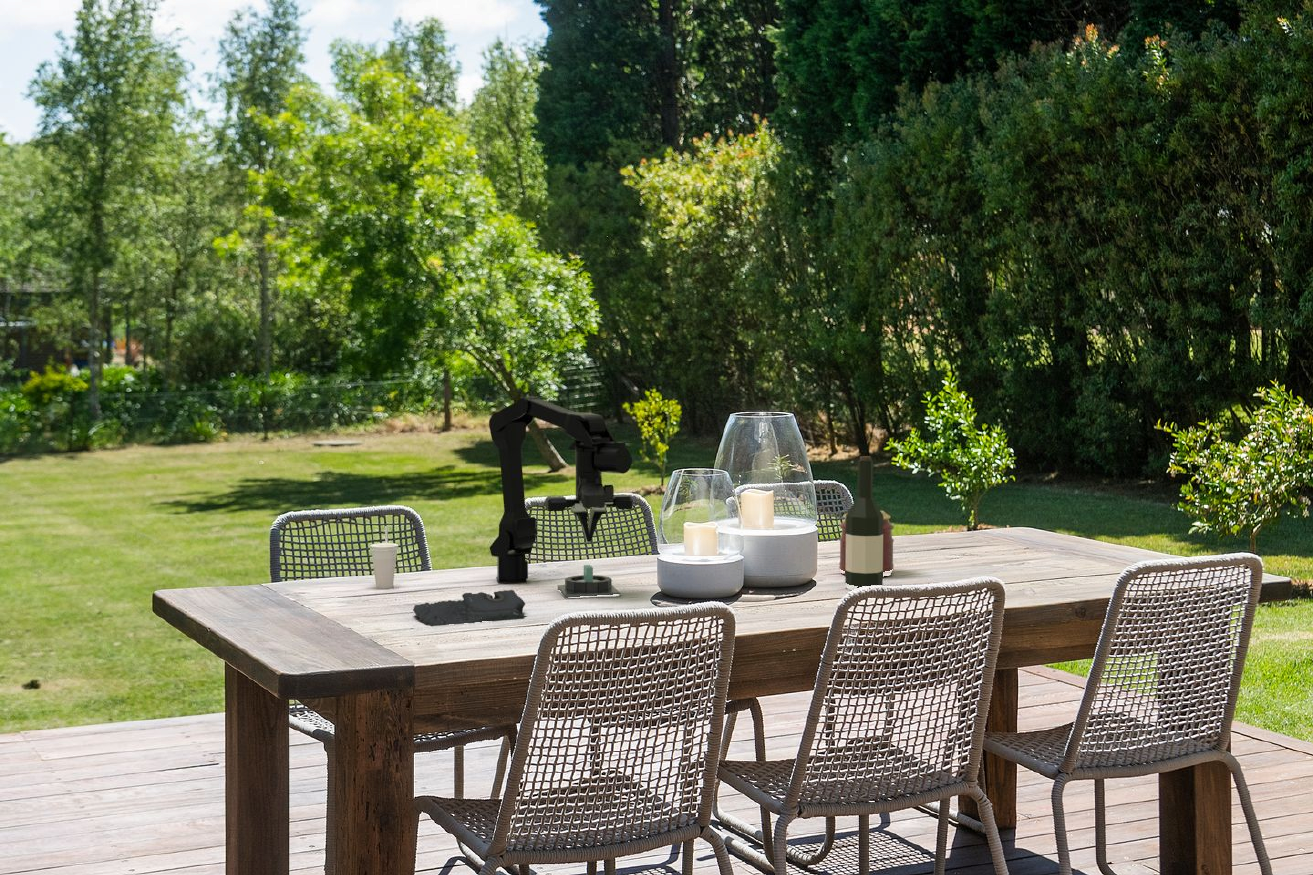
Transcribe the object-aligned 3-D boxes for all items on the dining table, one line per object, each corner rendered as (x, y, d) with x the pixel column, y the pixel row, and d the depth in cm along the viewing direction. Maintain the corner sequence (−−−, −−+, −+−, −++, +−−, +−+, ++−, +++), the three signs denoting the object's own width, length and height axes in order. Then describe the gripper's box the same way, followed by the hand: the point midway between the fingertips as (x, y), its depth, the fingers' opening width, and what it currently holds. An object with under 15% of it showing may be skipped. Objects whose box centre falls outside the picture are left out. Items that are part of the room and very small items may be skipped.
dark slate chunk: (406, 616, 271) (406, 593, 270) (509, 607, 280) (509, 585, 280) (426, 630, 257) (426, 605, 257) (534, 620, 266) (533, 597, 266)
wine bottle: (881, 585, 304) (882, 455, 303) (883, 592, 296) (885, 458, 294) (844, 585, 305) (845, 455, 304) (846, 591, 297) (847, 457, 295)
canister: (828, 572, 324) (829, 500, 323) (873, 568, 330) (874, 497, 329) (858, 580, 312) (859, 505, 311) (904, 576, 318) (905, 503, 317)
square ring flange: (565, 598, 287) (565, 584, 287) (557, 589, 299) (557, 575, 299) (620, 596, 290) (620, 582, 290) (610, 587, 301) (610, 573, 301)
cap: (577, 591, 291) (577, 568, 291) (573, 587, 296) (573, 564, 296) (602, 590, 292) (602, 567, 292) (598, 586, 298) (598, 563, 297)
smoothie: (392, 590, 298) (391, 528, 297) (365, 589, 299) (364, 527, 298) (403, 585, 304) (402, 524, 303) (377, 584, 305) (376, 523, 304)
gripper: (551, 475, 283) (552, 548, 284) (637, 473, 287) (637, 545, 288) (544, 471, 294) (545, 541, 294) (627, 469, 298) (627, 538, 298)
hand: (588, 541), depth 293 cm, fingers closed
